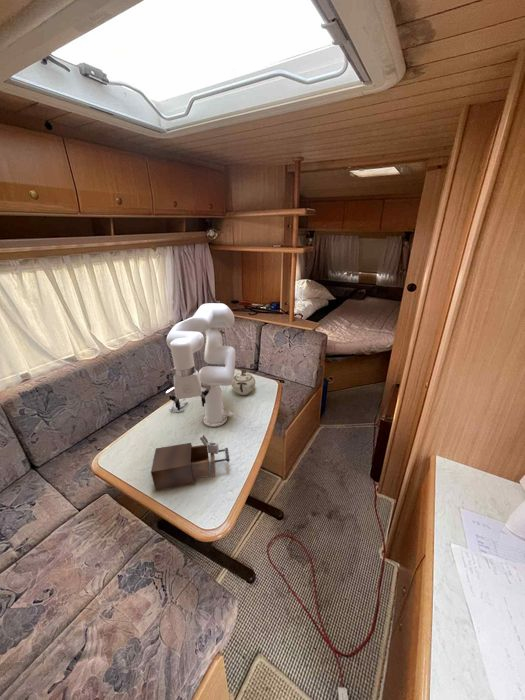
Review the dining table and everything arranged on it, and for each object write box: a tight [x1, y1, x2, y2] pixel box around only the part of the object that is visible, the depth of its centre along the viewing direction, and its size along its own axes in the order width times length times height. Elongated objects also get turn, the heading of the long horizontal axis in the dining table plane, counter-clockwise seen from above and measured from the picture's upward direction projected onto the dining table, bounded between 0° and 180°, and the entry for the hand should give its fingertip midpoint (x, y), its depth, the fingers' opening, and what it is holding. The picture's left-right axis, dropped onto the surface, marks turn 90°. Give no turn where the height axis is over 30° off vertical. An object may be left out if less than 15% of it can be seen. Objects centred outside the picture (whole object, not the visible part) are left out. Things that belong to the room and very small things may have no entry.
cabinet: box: [150, 442, 195, 492], centre depth 112 cm, size 15×13×10 cm
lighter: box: [199, 434, 220, 455], centre depth 111 cm, size 7×2×8 cm, turn 79°
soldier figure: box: [168, 398, 189, 413], centre depth 156 cm, size 8×5×12 cm
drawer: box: [191, 444, 230, 480], centre depth 114 cm, size 20×11×8 cm, turn 102°
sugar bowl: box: [230, 369, 256, 396], centre depth 169 cm, size 20×15×15 cm
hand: (191, 406), depth 111 cm, fingers open, 9 cm apart
